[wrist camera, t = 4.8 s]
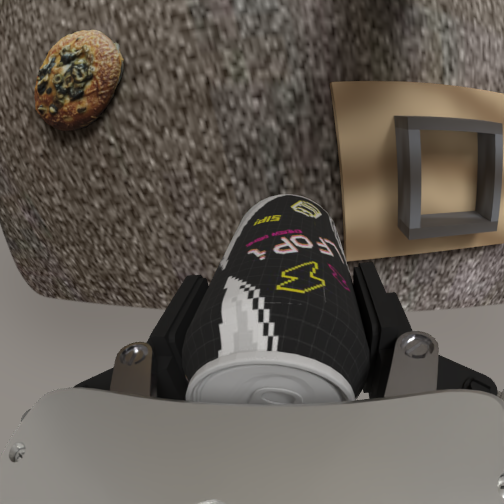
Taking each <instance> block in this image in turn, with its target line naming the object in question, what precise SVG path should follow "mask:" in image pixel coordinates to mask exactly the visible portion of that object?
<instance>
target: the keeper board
mask: <svg viewBox="0 0 504 504" xmlns="http://www.w3.org/2000/svg"><path fill="white" fill-rule="evenodd" d="M330 89H331V96H332V103H333V111H334V119H335V127H336V136H337V145H338V155H339V166H340V178H341V192H342V208H343V229H344V255H345V259H346V261H356V260H365V259H375V258H384V257H393V256H402V255H411V254H420V253H429V252H437V251H446V250H454V249H462V248H470V247H478V246H486V245H494V244H502V243H504V94H502V93H497V92H492V91H486V90H480V89H474V88H467V87H459V86H451V85H442V84H431V83H418V82H399V81H343V82H331V83H330Z"/></svg>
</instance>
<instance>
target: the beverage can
mask: <svg viewBox="0 0 504 504" xmlns="http://www.w3.org/2000/svg"><path fill="white" fill-rule="evenodd" d="M182 367H183V370H184V373H185V376H186V379H187V382H188V384H189V385H188V388H187V391H186V401H195V402H209V403H226V404H259V405H279V404H313V403H330V402H344V401H355V400H356V399H357V398H358V396H359V394H360V393H361V391H362V389H363V387H364V386H365V384H366V381H367V377H368V373H369V369H370V353H369V346H368V341H367V337H366V333H365V329H364V325H363V321H362V317H361V313H360V309H359V305H358V301H357V297H356V294H355V290H354V286H353V283H352V279H351V276H350V272H349V269H348V265H347V262H346V259H345V255H344V252H343V249H342V245H341V242H340V239H339V236H338V233H337V230H336V227H335V225H334V222H333V220H332V219H331V217H330V216H329V214H328V213H327V212H326V211H325V210H324V209H323V208H322V207H321V206H320V205H318V204H317V203H315V202H313V201H312V200H310V199H307V198H305V197H302V196H297V195H291V194H285V195H276V196H272V197H269V198H266V199H264V200H262V201H260V202H259V203H257V204H256V205H254V206H253V207H252V208H251V209H250V210H249V211H248V212H247V213H246V214H245V216H244V217H243V219H242V221H241V222H240V224H239V226H238V228H237V230H236V232H235V234H234V236H233V238H232V240H231V242H230V244H229V246H228V248H227V250H226V252H225V254H224V256H223V258H222V260H221V262H220V264H219V266H218V268H217V270H216V272H215V274H214V277H213V279H212V281H211V283H210V285H209V287H208V289H207V291H206V293H205V295H204V297H203V299H202V301H201V303H200V305H199V307H198V309H197V311H196V313H195V316H194V318H193V320H192V322H191V324H190V326H189V328H188V330H187V332H186V335H185V339H184V343H183V348H182Z"/></svg>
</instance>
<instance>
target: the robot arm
mask: <svg viewBox="0 0 504 504" xmlns="http://www.w3.org/2000/svg"><path fill="white" fill-rule="evenodd" d="M353 286H354V290H355V294H356V297H357V301H358V305H359V309H360V313H361V317H362V321H363V325H364V329H365V333H366V337H367V341H368V346H369V353H370V369H369V373H368V377H367V381H366V384H365V386H364V387H363V392H364V393H368V392H369V398H370V399H364V400H355V401H344V402H330V403H313V404H279V405H259V404H226V403H209V402H195V401H186V391H187V388H188V385H189V384H188V382H187V379H186V376H185V373H184V370H183V367H182V348H183V343H184V339H185V335H186V332H187V330H188V328H189V326H190V324H191V322H192V320H193V318H194V316H195V313H196V311H197V309H198V307H199V305H200V303H201V301H202V299H203V297H204V295H205V293H206V291H207V289H208V287H209V286H208V282H207V279H206V278H203V277H202V276H201V275H190V276H187V277H186V278H185V280H184V281H183V283H182V285H181V286H180V288H179V289H178V291H177V293H176V294H175V296H174V297H173V299H172V301H171V302H170V304H169V305H168V307H167V309H166V310H165V312H164V314H163V315H162V317H161V318H160V320H159V322H158V323H157V325H156V327H155V328H154V330H153V332H152V333H151V335H150V338H149V339H148V341H147V343H144V342H135V343H131V344H129V345H127V346H125V347H124V348H122V349H121V350H120V351H119V353H118V354H117V357H116V360H115V364H114V368H112V369H109V370H107V371H105V372H103V373H101V374H99V375H97V376H94V377H92V378H90V379H88V380H86V381H83V382H81V383H79V384H77V385H76V386H74V387H73V388H64V389H58V390H54V391H51V392H48V393H47V394H45V395H44V396H42V397H41V398H40V399H39V400H38V402H37V403H36V404H35V405H34V406H33V407H32V408H31V409H29V410H28V411H26V412H25V414H24V415H23V416H22V418H21V423H20V425H19V426H18V428H17V429H16V431H15V432H14V434H13V435H12V437H11V439H10V440H9V442H8V444H7V445H6V447H5V449H4V450H3V452H2V454H1V456H0V504H504V389H503V391H502V392H500V391H497V387H496V385H495V383H494V382H493V381H492V379H491V378H489V377H487V376H486V375H483V374H481V373H479V372H476V371H474V370H472V369H470V368H467V367H465V366H463V365H460V364H458V363H456V362H454V361H452V360H449V359H447V358H445V357H442V356H440V355H438V349H439V348H438V343H437V341H436V340H435V338H433V337H432V336H431V335H429V334H427V333H425V332H420V331H412V329H411V326H410V324H409V322H408V319H407V317H406V315H405V312H404V310H403V308H402V305H401V303H400V301H399V299H398V297H397V295H396V293H394V292H392V293H386V291H385V289H384V287H383V284H382V282H381V280H380V277H379V275H378V273H377V270H376V268H375V266H374V264H373V262H367V263H359V264H358V267H354V271H353Z"/></svg>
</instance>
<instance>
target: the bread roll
mask: <svg viewBox="0 0 504 504" xmlns="http://www.w3.org/2000/svg"><path fill="white" fill-rule="evenodd" d="M123 66H124V65H123V58H122V55H121V53H120V48H119V44H117V43H114V42H113V41H111V40H110V38H108V37H107V36H106V35H104V34H103V33H102V32H100V31H96V30H90V31H84V30H82V31H80V32H75V33H74V34H71V35H67V36H66V37H63V38H62V39H60V40H59V41H58V42H57V44H56V45H54V46H53V47H52V49H51V50H50V51H49V52H48V55H47V57H46V59H45V61H44V63H43V65H42V67H41V68H40V70H39V72H38V77H37V81H36V87H35V104H36V110H37V112H38V114H40V116H41V117H42V118H43V119H44V121H45V122H46V123H47V124H49V125H50V126H52V127H54V128H56V129H58V130H62V131H71V130H77V129H81V128H85V127H87V126H88V125H90V124H91V123H93V122H95V121H96V120H97V119H98V117H99V116H100V115H101V114H102V113H103V111H105V109H106V108H107V106H108V105H109V103H110V101H111V100H112V97H113V96H114V94H115V93H114V91H115V88H116V87H117V85H118V83H119V81H120V80H121V78H122V77H121V76H122V73H123V68H124V67H123Z"/></svg>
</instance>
